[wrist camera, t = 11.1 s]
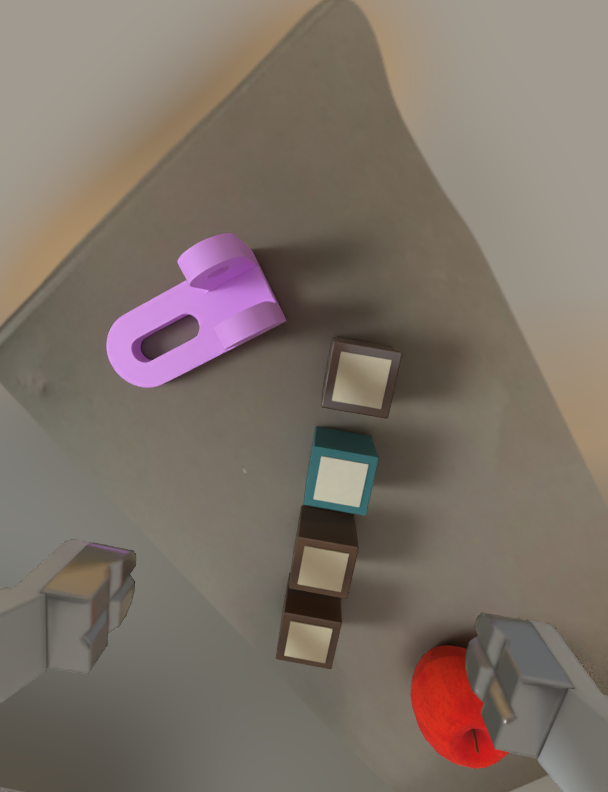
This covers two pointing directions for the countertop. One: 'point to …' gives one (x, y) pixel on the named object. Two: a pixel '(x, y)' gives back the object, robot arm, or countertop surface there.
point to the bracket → (198, 312)
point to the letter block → (341, 471)
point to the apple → (451, 709)
